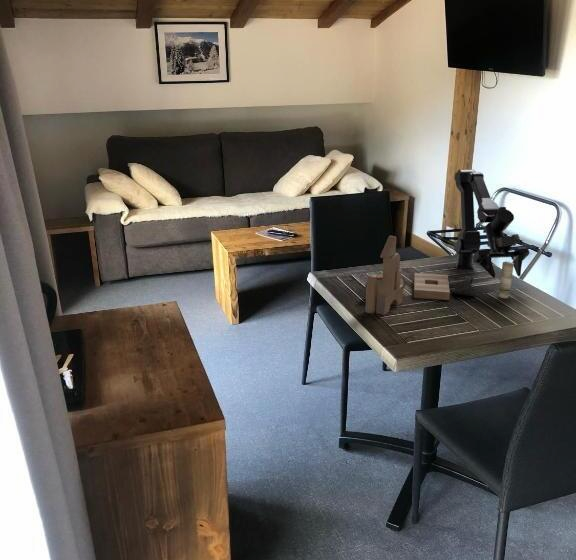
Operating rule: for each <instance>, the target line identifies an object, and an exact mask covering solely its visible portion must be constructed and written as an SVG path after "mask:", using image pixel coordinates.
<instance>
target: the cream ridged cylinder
mask: <svg viewBox="0 0 576 560" xmlns="http://www.w3.org/2000/svg"><path fill="white" fill-rule="evenodd" d="M512 262H513V261H512ZM512 262H511V261H503V262H502V265H501V266H502V267H501V273H500V280H499V281H500V283H499V288H498V290H499V295H498V297H499V298H500V299H509V295H510V292H511V288H512V287H511V286H512V280H513V279H512V278H513V271H514V263H512Z"/></svg>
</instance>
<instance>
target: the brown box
mask: <svg viewBox="0 0 576 560" xmlns="http://www.w3.org/2000/svg"><path fill="white" fill-rule="evenodd" d="M413 278H414V279H413V299H426V300H427V299H428V300H439V301H441V300H443V301H444V300H445V301H450V295H451V291H450V284H449V277H448V274H438V273H437V274H434V273H420V272H419V273H418V272H415V273H414V277H413Z"/></svg>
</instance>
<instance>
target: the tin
mask: <svg viewBox="0 0 576 560" xmlns="http://www.w3.org/2000/svg"><path fill="white" fill-rule="evenodd" d="M375 275H376V276H377V286H376V300H377V287H378V286H379V284H380V282H381V280H382V275H383V273H380V274H375ZM400 285H403V291H404V290H405V287H406V280H405V278H404V277H403V276H402V275H401V282H400ZM366 289H367V281H366V282H365V285H364V291H365V292H366Z"/></svg>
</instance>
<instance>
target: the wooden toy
mask: <svg viewBox="0 0 576 560" xmlns="http://www.w3.org/2000/svg"><path fill="white" fill-rule="evenodd" d="M396 247H397V237H396V236H394V235H389V236H388V237H387V240H386V243H385V244H384V247H383V249H382V251H381V254H380V256H379V257H380V258H381V259H382V261H383V263H382V274H383V275H382V280H381V282H380V284H379V286H378V287H377V299H376V286H377V276H376V275H377V274H373V273H369V274H367V276H366V282H367V289H366V291H365V293H366V295H365V313H367V314H375V313H376V314H379V315H382V316H386V314H387V315H388V313H389V312H390V308H391V305H394V306H399V305H401V304H403V299H404V298H403V295H404V293H403V292H404V290H403V285H400V282H401V276H402V269H400V267H401V255H400V254H399V253H398V252H396V250H397V248H396Z"/></svg>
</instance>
